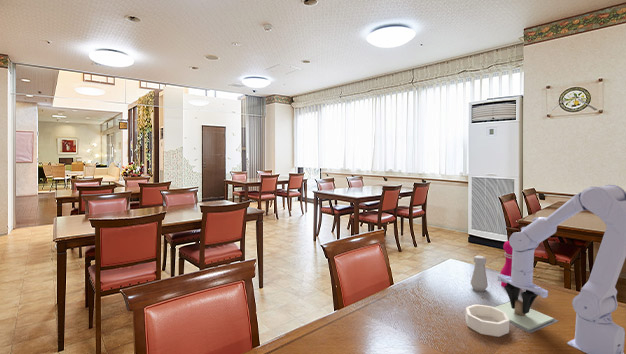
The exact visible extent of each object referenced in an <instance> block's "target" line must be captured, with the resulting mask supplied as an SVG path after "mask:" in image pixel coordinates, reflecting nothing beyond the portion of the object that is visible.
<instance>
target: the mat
mask: <svg viewBox="0 0 626 354" xmlns="http://www.w3.org/2000/svg"><path fill="white" fill-rule="evenodd" d="M508 302H510V300H509V301H506V302H504V303H500V304H498V305H494V306H493V307H496V306H499V305H502V304H505V303H508ZM557 322H559V320H558V319H556V318H554V320H553V321H550V322H548V323H545V324H543V325H541V326H538V327H536V328H534V329H531V330H527V329H525V328H522V327H520V326H518V325H516V324H514V323H512V322H510V321H509V325H512V326H514V327H517V328H518V329H521V330H522V331H525V332H527V333H529V334H532V333H535V332H536V331H540V330H541V329H544V328H546V327H549V326H551V325H553V324H555V323H557Z"/></svg>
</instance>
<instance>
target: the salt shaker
mask: <svg viewBox="0 0 626 354" xmlns="http://www.w3.org/2000/svg"><path fill="white" fill-rule="evenodd" d="M487 261H488V260H487V258H486V257H485V256H482V255H474V256H473V262H474V263H475V264H474V267H473V272H472V274H471V275H472V276H471V279H470V285H471V287H472V288H471V289H473V291H477V292H484V291H486V290H487V288H488V286H489V285H488V277H487V272H486V264H487Z"/></svg>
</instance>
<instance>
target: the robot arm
mask: <svg viewBox="0 0 626 354" xmlns="http://www.w3.org/2000/svg"><path fill="white" fill-rule="evenodd" d="M583 211H584V212H585V211H589V212H591V213H592V214H593V215H595V216H597V217H598V218H599V219H600V220H601V221H602V222H603V223H604V224H605V225H606V228H605V230H604V234H603V236H602V240H601V243H600V245H599V249H598V251H597V254H596V257H595V260H594V263H593V265H592V269H591V272H590V274H589V275H590V276H589V278H588V280H587V282H586V283H585V284H584V285H583V286H582V288H580V291H579V293H578V294H577V295H576V296H574V297H573V299H572V302H571V304H572V309H573V310H574V312H575V313H576V315H575V328H574V330H575V331H574V332H575V333H574V338H573V339H571V340H569V341H568V342H567V343H566V344H567V345H569V346H571V347H572V348H575V349H577V350H579V351H581V352H583V353H586V354H625V353H624V350H625V338H626V331H625V328H624V327H622V326H621V325H619V324H617V323H616V322H614V321H613V316H612V313H613V312H615V311H617V308H618V305H619V304H618V300H617V295H618V290H617V288H616V285H617V282H618V279H619V278H620V277H619V276H620V274H621V272H622V270H623V269H622V268H623V266H624V263H625V260H626V191H625V190H624V189H623V188H622V187H621V186H618V185H616V184H604V185H601V186H597V185H596V186H595V185H594V186H589V187H587V188H584V189H583V190H582V191H581V192H579V193H576V194H574V195H573V196H572V197H571V198H570V199H568V201H566V202H565V203H563V204H562V205H560V207H558V208H557V209H556V210H555V211H553V212H552V213H550V215H548V216H547V217H546V216H539V217H534V218H532V219H531V220H532V222H531V223H530V224H528V225H526V226H522V227H521V228H520V230H521V231H518V232H517V231H516V232H513V233H512V234H511V235H510V236H509V237H508V238H509V239H508V241H509V243H510V246H511V247H512V248H513V252H512V272H511V277H510V276H505V275H502V274H501V275H500V274H498V275H497V282H500V283H501V282H505V283H507V285H506V286H504V287H503V288H504V290H505V291H506V292H505V293H506V295H507V296H508V299H509V301H510V303H511V307H512V308H513V309H515V300H516V299H519V295H521V297H522V298H521V300H523V313H524V314H526V313H529V310H530V309H531V307H532V306H533V303H534V302H535V299H536V298H537V297H541V298H543V299H545V298H548V297H549V290H547V289H544V288H543V287H540V286H539V285H538V284H537V285H536V284H535V283H533V281H534V261H535V260H534V259H535V252H536V251H535V250H536V249H537V248H538V247H539V244H540V243H542V242H544V241H545V240H547V239H548V238H550V237H551V236H553V235H554V234H556V233H557V229H558V226H559V225H561V224H563V223H564V222H566V221H567V220H569V219H571V218H572V217H574V216H575V215H577V214H579V213H581V212H583ZM521 290H524V291H522V292H521V293H520V291H521Z"/></svg>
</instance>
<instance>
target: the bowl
mask: <svg viewBox="0 0 626 354" xmlns="http://www.w3.org/2000/svg"><path fill="white" fill-rule="evenodd" d="M464 317H465V322H466V326H467V327H469V328H470V329H472V330H473V331H475V332H477V333H479V334H480V335H484V336H485V335H487V336H491V337H502V336H504V335H506V334H509V333H510V323H509V321H510V320H509V318H508V316H507V315H506V313H505V312H503V311H501V310H498V309H496V308H494V306H491V305H485V304H472V305H470V306H466V307H465V316H464Z"/></svg>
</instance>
